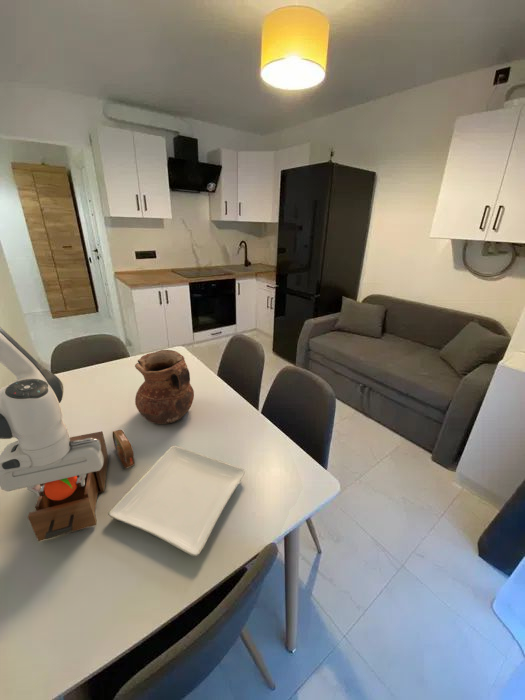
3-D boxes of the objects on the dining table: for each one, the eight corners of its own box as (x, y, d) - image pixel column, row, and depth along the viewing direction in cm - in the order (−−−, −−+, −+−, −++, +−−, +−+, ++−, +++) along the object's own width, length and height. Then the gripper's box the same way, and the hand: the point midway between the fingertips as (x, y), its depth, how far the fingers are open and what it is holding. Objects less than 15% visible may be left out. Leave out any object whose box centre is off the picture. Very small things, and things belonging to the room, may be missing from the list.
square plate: (173, 452, 99) (172, 443, 97) (246, 478, 90) (246, 469, 88) (108, 522, 76) (105, 512, 74) (198, 566, 67) (197, 555, 65)
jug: (129, 430, 108) (118, 371, 97) (148, 398, 127) (140, 346, 117) (189, 431, 109) (185, 372, 98) (199, 399, 128) (195, 347, 118)
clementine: (89, 491, 74) (83, 470, 71) (62, 513, 68) (55, 492, 65) (69, 479, 77) (62, 459, 74) (41, 500, 71) (33, 479, 68)
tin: (113, 446, 100) (109, 427, 97) (123, 442, 102) (119, 423, 98) (127, 474, 90) (123, 453, 86) (138, 469, 92) (134, 448, 88)
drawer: (94, 540, 70) (86, 516, 67) (32, 559, 66) (21, 534, 62) (102, 483, 85) (96, 460, 82) (52, 495, 81) (43, 472, 77)
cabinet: (104, 492, 84) (96, 464, 79) (48, 506, 79) (37, 478, 75) (108, 456, 96) (102, 431, 92) (60, 467, 91) (51, 440, 87)
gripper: (100, 428, 72) (109, 469, 78) (-2, 447, 65) (17, 490, 71) (97, 445, 67) (107, 487, 73) (-15, 467, 60) (7, 513, 65)
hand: (62, 489), depth 72 cm, fingers closed on clementine, 7 cm apart
